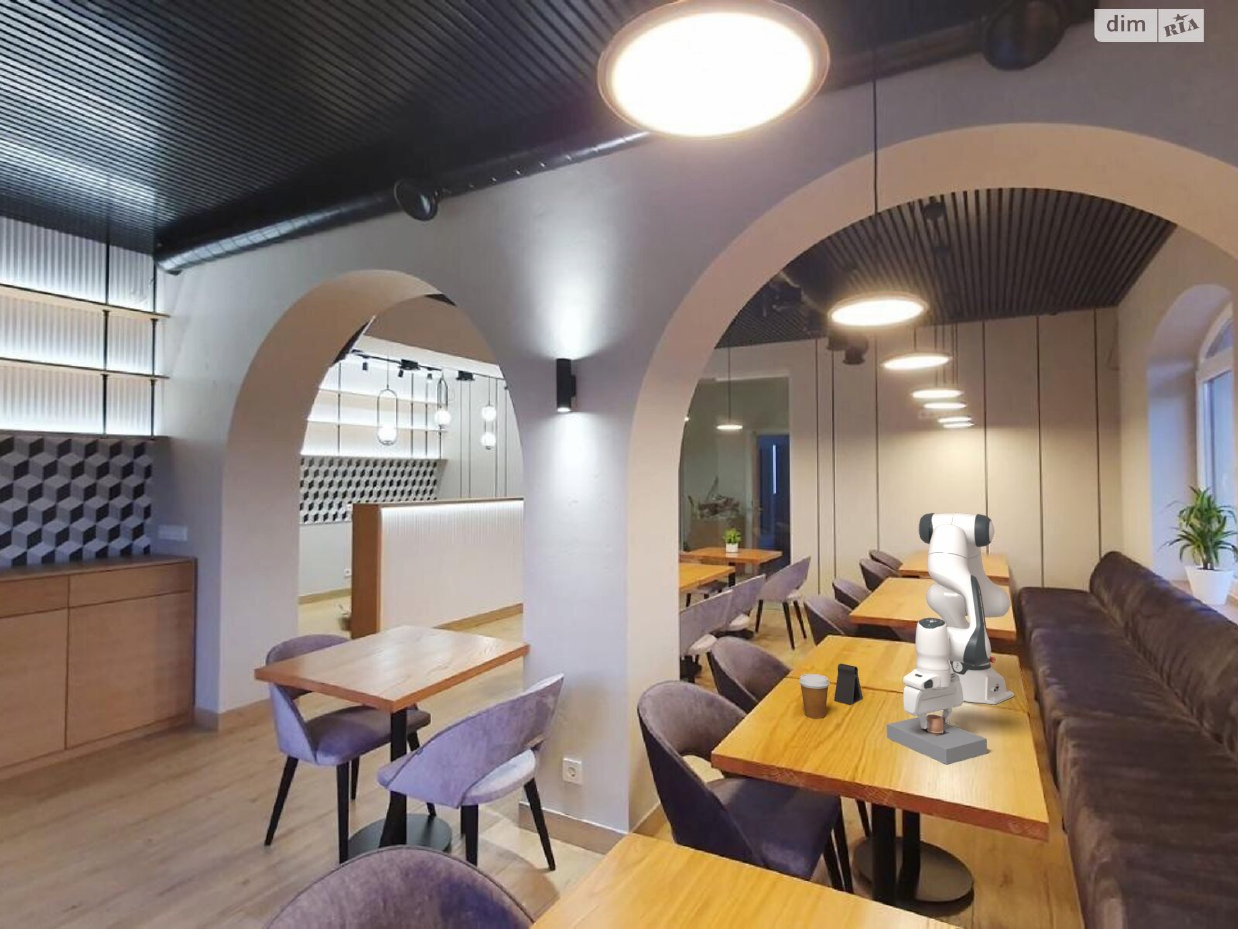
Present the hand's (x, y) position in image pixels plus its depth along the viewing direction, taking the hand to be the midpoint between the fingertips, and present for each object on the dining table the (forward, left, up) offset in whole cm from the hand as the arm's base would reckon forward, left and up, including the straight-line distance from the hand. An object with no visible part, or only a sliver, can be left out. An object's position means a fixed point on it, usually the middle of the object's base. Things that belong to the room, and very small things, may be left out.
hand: (934, 725), depth 182 cm
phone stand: (-6, -40, -6) cm, 41 cm away
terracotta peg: (0, 0, -6) cm, 6 cm away
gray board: (0, 0, -6) cm, 6 cm away
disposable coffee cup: (+14, -34, -6) cm, 37 cm away
